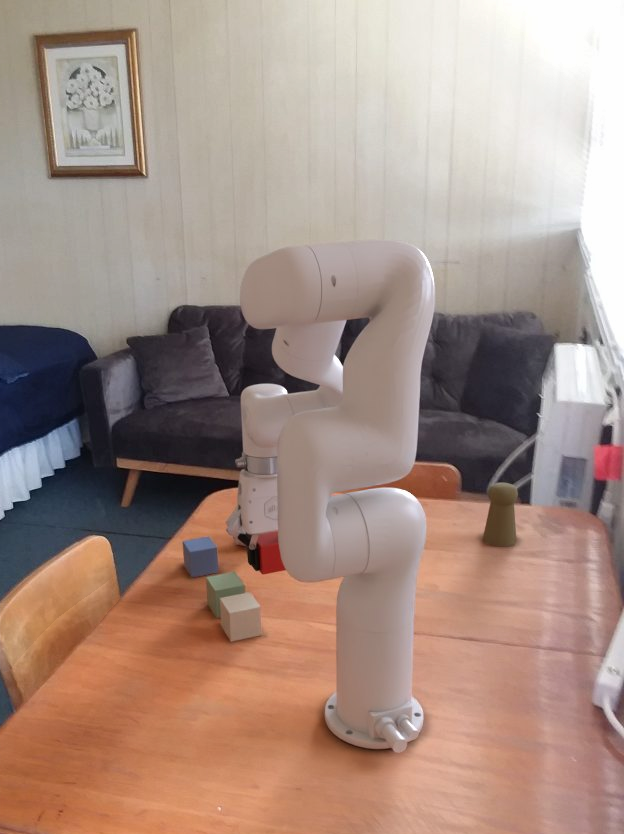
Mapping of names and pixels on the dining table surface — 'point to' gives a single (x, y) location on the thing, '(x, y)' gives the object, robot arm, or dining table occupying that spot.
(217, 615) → the sage block
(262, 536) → the red block
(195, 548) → the blue block
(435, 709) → the dining table surface
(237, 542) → the die
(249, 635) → the cream block
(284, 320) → the robot arm
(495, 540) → the cork
